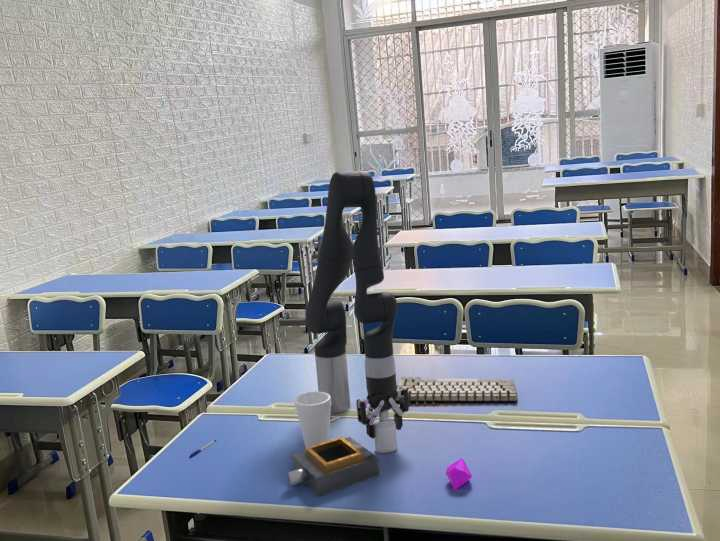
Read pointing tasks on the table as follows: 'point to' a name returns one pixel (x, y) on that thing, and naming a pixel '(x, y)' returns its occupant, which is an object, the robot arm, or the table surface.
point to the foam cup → (314, 417)
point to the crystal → (458, 473)
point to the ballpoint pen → (201, 449)
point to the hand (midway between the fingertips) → (385, 432)
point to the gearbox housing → (333, 465)
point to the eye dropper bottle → (385, 433)
